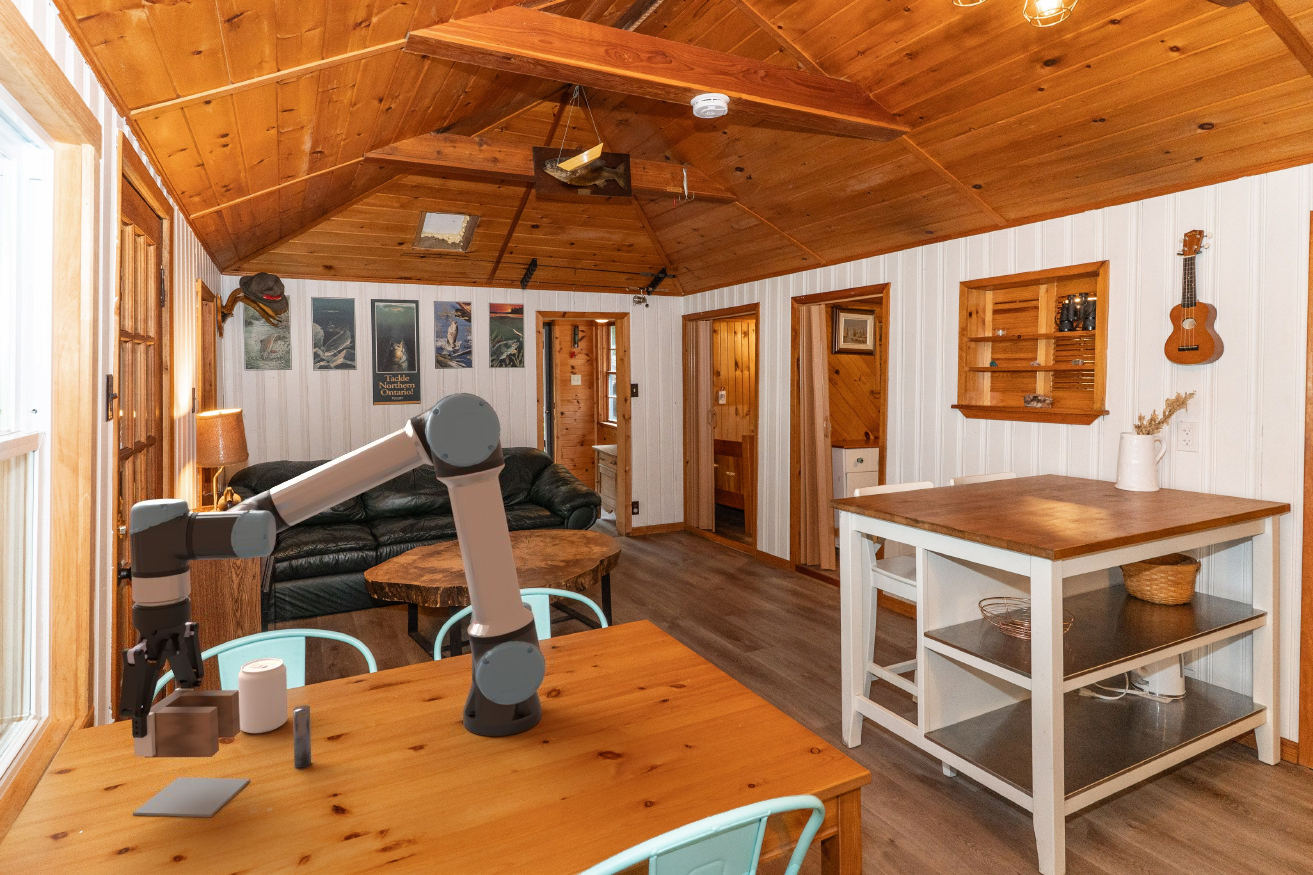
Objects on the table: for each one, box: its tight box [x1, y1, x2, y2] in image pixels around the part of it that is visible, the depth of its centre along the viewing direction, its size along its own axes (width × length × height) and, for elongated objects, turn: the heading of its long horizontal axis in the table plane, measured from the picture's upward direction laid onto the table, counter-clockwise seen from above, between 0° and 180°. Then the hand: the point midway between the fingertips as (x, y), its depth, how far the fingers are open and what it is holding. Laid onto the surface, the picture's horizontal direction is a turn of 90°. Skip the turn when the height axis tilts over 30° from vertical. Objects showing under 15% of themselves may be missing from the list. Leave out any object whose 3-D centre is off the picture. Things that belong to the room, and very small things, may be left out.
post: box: [292, 704, 312, 770], centre depth 124 cm, size 3×3×10 cm
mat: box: [132, 776, 251, 818], centre depth 114 cm, size 12×10×1 cm
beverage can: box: [237, 657, 289, 734], centre depth 138 cm, size 8×8×12 cm
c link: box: [144, 689, 241, 758], centre depth 114 cm, size 10×8×7 cm
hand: (165, 740), depth 114 cm, fingers closed on c link, 8 cm apart
